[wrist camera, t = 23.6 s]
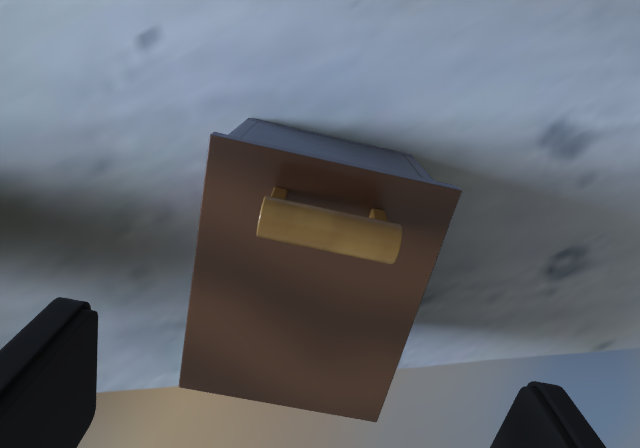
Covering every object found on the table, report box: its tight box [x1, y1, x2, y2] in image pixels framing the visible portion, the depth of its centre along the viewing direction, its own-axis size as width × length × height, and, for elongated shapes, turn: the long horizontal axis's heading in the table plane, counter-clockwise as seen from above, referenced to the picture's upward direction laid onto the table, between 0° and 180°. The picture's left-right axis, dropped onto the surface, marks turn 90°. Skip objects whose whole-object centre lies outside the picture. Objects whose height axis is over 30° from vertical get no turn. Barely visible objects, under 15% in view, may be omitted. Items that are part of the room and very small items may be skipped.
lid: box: [179, 132, 462, 422], centre depth 22 cm, size 16×13×5 cm
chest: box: [229, 118, 434, 181], centre depth 29 cm, size 15×13×11 cm
